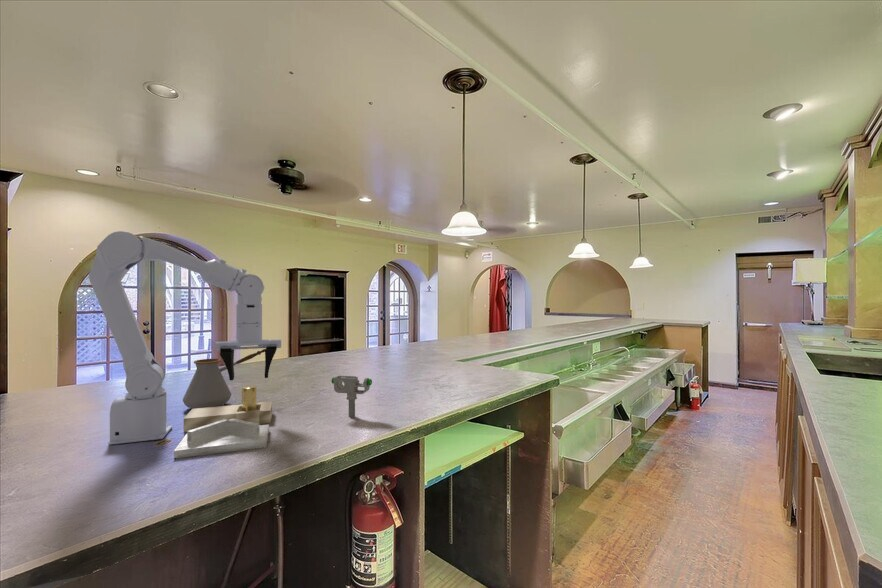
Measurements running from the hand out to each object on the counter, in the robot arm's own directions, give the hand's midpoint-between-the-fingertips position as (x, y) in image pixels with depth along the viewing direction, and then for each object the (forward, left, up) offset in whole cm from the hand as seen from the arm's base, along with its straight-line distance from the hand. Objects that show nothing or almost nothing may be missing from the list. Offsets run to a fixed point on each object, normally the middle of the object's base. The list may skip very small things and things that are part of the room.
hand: (249, 378), depth 97 cm
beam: (-4, 0, -10) cm, 11 cm away
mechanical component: (+24, -6, -10) cm, 27 cm away
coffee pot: (-7, +17, -10) cm, 21 cm away
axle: (0, 0, -10) cm, 10 cm away
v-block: (-3, -15, -10) cm, 18 cm away
